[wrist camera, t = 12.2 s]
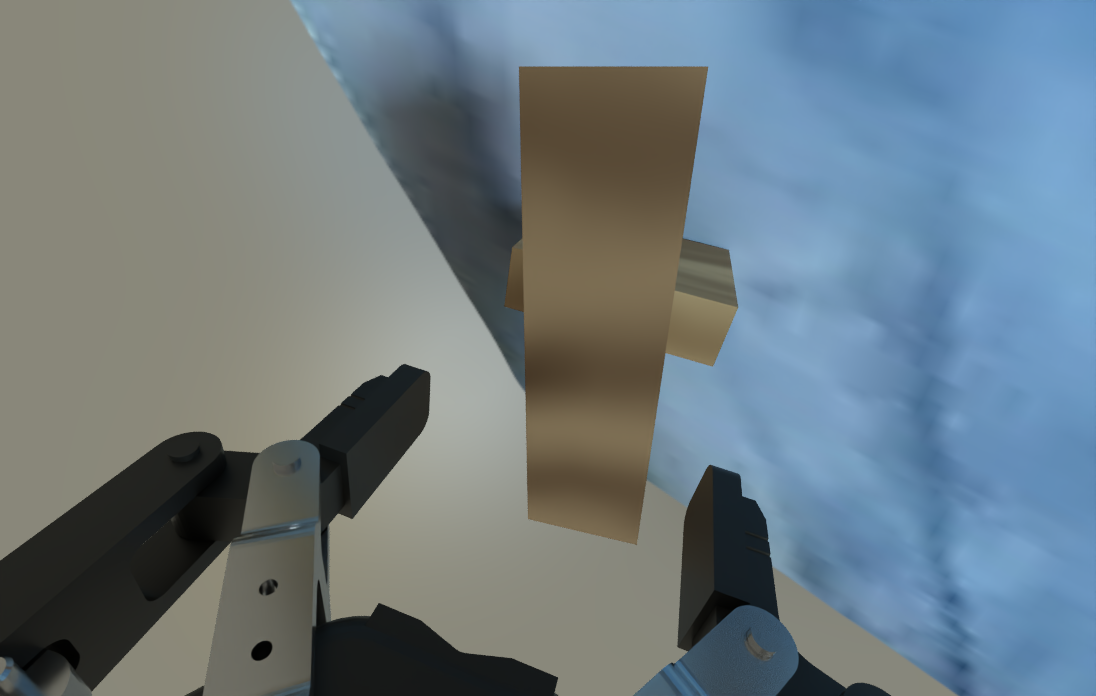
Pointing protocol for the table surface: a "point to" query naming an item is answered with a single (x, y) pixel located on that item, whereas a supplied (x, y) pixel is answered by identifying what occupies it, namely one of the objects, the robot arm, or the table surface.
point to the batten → (600, 279)
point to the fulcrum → (677, 300)
